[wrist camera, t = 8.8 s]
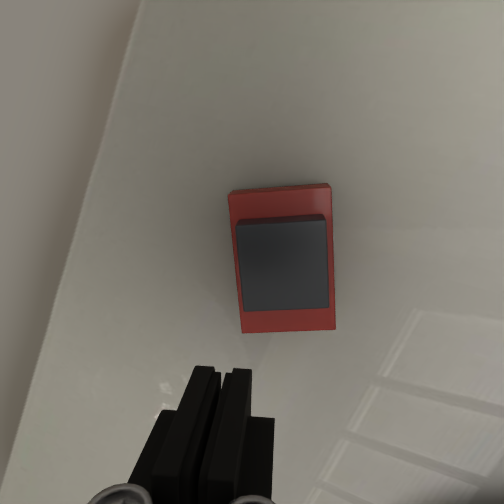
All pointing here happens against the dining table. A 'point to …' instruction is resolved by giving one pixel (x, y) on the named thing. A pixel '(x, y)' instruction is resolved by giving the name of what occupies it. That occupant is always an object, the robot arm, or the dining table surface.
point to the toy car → (284, 258)
